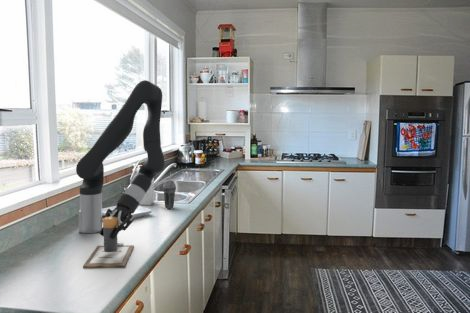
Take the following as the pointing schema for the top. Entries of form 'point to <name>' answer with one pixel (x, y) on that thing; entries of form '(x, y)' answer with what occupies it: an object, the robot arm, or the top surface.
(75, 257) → the top surface
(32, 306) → the top surface
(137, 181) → the robot arm
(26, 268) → the top surface
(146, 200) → the milk carton
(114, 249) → the orange-capped grey cylinder
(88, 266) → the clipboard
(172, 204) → the beverage cup
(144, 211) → the salad plate
